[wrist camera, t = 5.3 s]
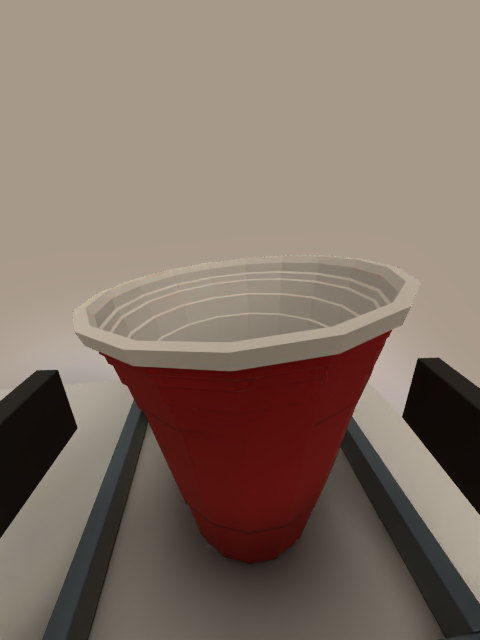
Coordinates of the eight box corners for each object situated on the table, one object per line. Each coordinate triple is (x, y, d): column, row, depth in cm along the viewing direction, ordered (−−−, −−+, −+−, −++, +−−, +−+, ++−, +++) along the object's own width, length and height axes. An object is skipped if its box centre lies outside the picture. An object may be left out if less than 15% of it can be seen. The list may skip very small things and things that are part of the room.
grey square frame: (502, 692, 8) (685, 492, 5) (15, 791, 7) (-229, 621, 4) (324, 397, 21) (337, 283, 18) (139, 414, 20) (114, 295, 16)
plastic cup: (210, 404, 21) (196, 244, 16) (363, 451, 17) (404, 251, 12) (83, 558, 12) (-30, 297, 7) (345, 749, 8) (488, 408, 3)
